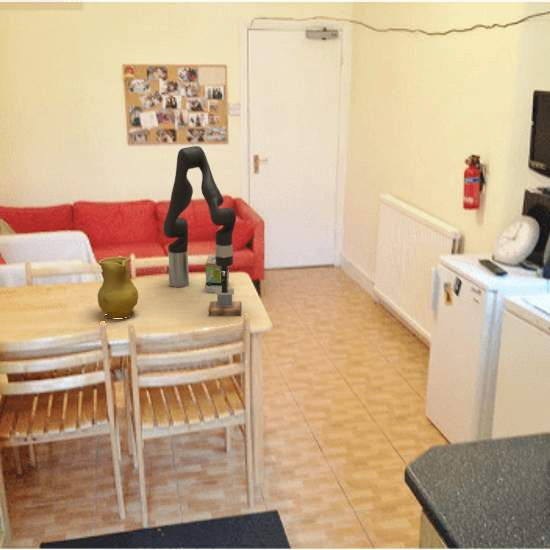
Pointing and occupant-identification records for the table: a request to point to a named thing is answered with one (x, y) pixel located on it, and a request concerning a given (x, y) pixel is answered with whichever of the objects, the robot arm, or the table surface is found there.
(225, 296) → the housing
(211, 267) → the tea box
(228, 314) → the stand
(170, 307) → the table surface
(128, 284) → the pitcher
